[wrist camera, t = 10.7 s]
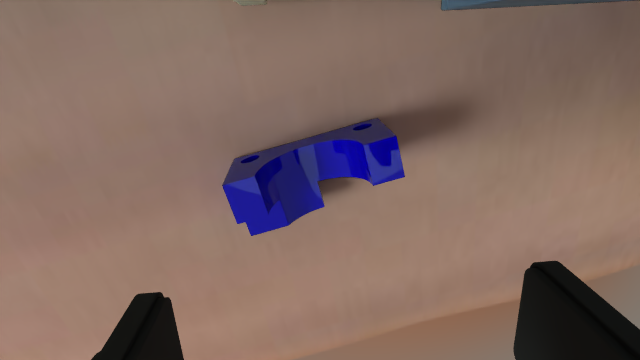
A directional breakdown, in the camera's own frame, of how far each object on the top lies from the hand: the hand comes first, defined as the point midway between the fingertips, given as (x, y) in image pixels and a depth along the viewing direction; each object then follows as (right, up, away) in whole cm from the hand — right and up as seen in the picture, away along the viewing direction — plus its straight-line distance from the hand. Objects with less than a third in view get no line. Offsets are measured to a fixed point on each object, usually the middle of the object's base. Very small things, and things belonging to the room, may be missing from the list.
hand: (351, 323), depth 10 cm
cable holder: (-1, +5, +12) cm, 12 cm away
